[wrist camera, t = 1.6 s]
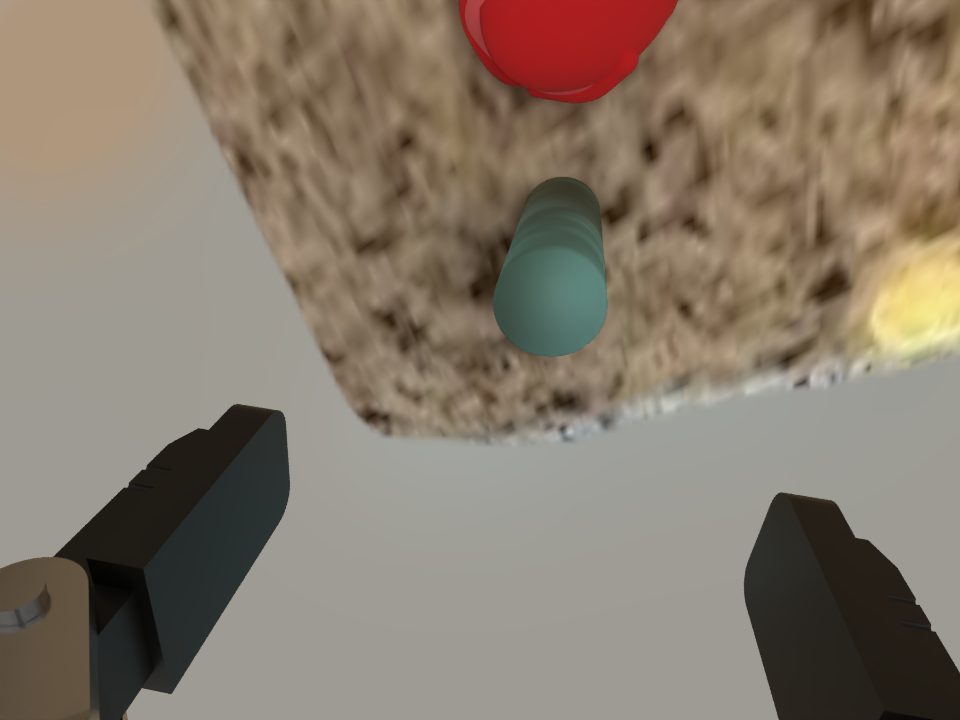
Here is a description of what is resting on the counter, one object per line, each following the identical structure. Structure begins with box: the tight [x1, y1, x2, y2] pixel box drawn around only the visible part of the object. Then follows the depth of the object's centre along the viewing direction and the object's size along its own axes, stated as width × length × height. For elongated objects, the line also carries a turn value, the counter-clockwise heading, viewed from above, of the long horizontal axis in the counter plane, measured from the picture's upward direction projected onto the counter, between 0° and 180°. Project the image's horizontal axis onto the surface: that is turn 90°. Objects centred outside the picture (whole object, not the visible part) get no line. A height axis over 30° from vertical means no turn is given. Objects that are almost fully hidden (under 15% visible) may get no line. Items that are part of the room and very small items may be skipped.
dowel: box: [493, 177, 607, 357], centre depth 22 cm, size 3×3×10 cm
